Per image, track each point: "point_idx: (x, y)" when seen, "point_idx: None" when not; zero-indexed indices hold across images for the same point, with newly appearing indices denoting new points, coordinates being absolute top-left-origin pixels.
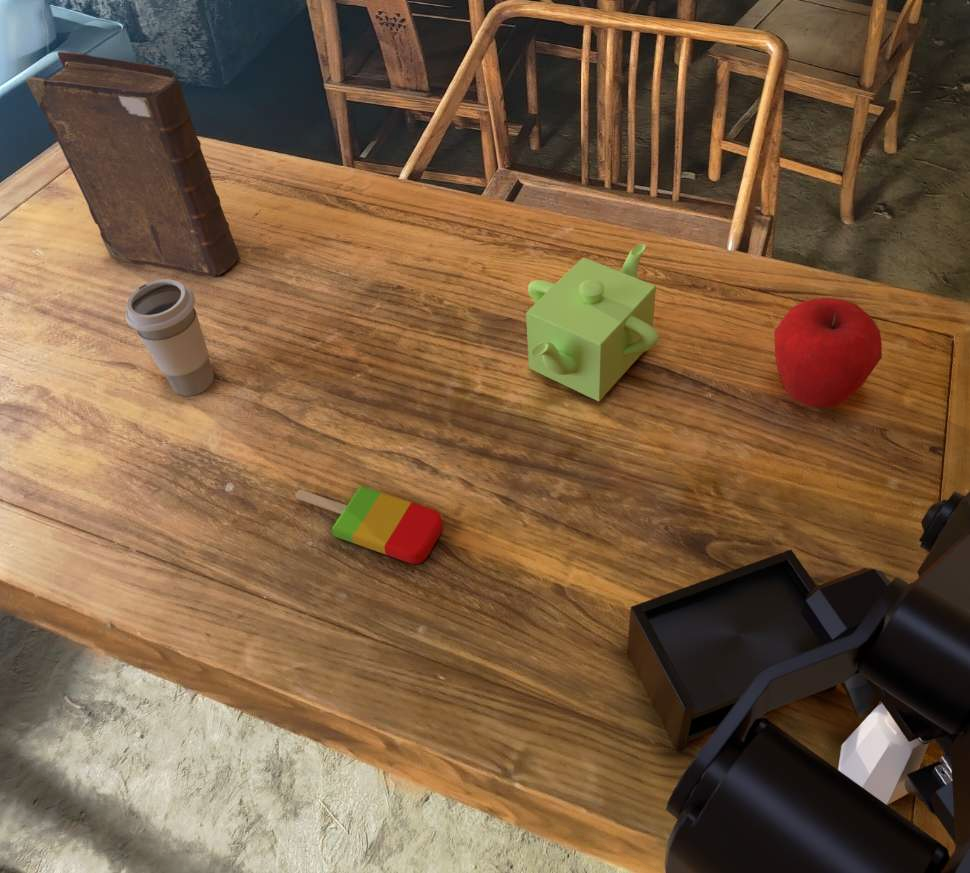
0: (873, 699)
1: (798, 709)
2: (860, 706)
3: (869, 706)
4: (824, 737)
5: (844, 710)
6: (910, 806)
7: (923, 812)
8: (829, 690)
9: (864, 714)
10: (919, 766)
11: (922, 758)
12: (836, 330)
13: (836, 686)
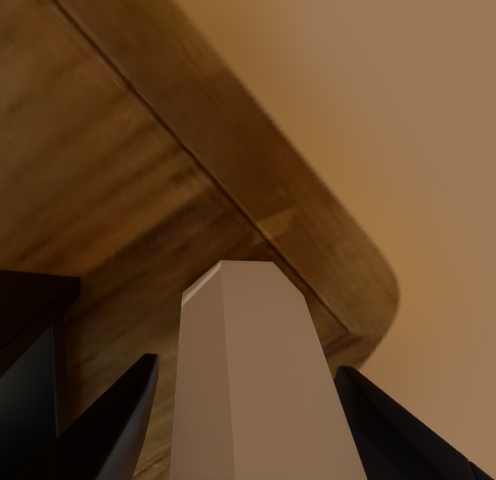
0: (128, 446)
1: (91, 353)
2: (132, 467)
3: (143, 418)
4: (157, 346)
5: (127, 289)
6: (317, 303)
7: (335, 292)
8: (76, 298)
9: (155, 381)
10: (331, 377)
11: (346, 422)
12: None
13: (72, 288)
